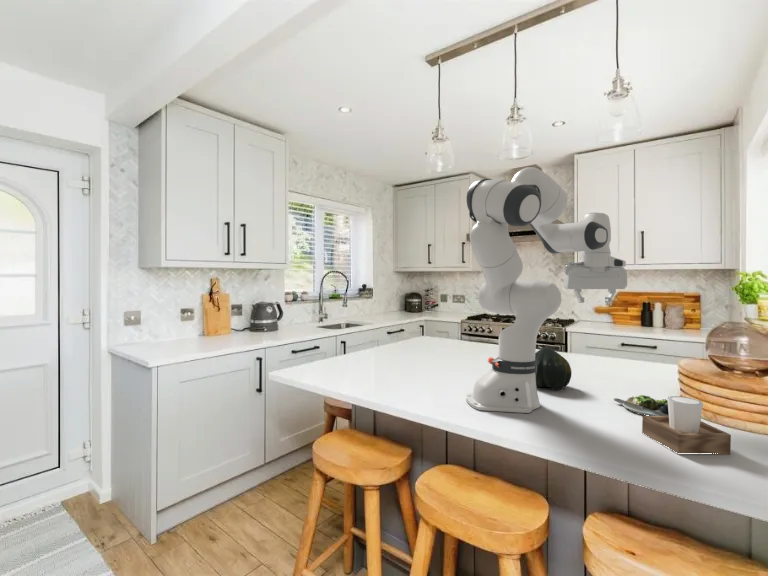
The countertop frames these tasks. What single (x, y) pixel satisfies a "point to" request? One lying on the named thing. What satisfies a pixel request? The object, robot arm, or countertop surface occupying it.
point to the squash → (552, 369)
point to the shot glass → (684, 414)
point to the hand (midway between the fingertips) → (594, 302)
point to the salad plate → (645, 405)
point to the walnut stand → (687, 437)
